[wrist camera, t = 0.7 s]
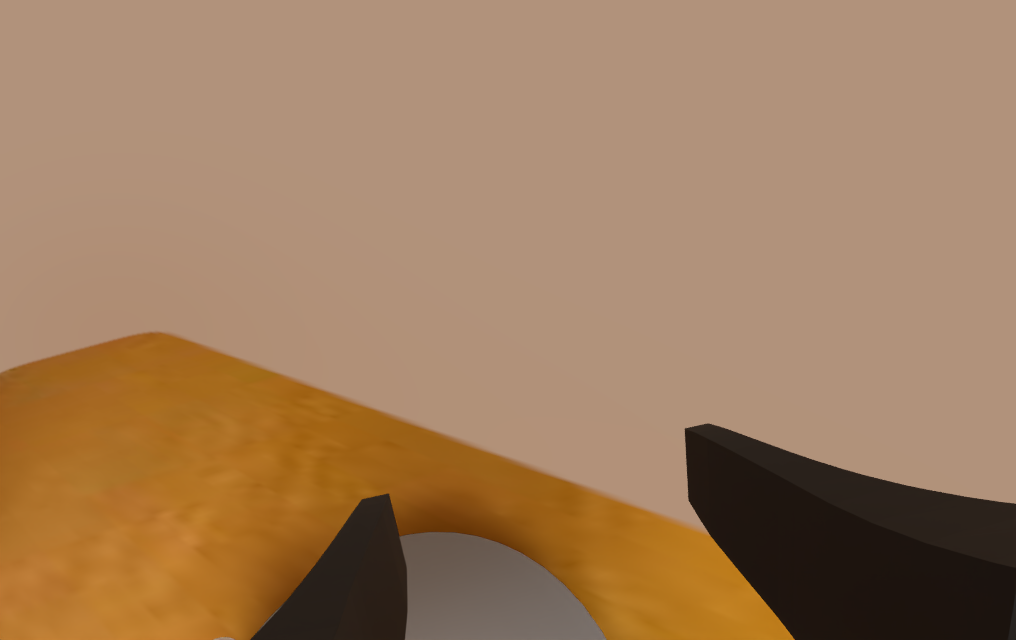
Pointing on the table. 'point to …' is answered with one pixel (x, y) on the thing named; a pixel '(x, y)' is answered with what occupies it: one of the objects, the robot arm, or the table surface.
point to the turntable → (484, 593)
